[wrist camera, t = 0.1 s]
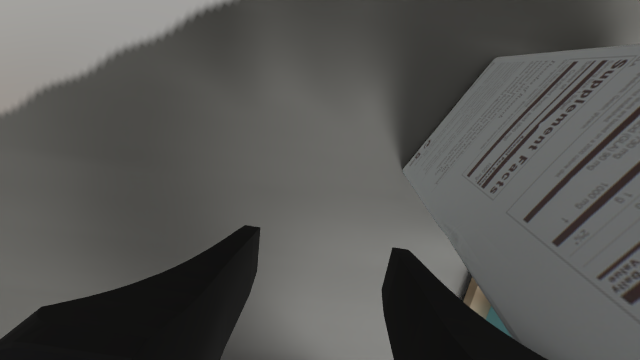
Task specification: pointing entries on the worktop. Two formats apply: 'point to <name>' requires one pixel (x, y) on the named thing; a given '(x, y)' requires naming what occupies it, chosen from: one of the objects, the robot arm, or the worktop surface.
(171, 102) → the worktop surface
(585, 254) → the supplement box
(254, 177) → the worktop surface
